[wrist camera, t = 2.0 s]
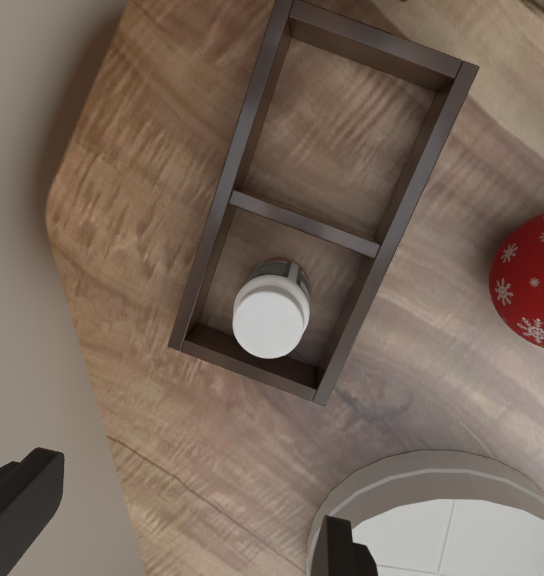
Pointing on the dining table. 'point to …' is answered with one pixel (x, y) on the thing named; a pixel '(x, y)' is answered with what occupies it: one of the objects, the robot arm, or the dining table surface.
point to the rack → (229, 194)
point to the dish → (441, 516)
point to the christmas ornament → (521, 280)
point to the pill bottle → (272, 308)
